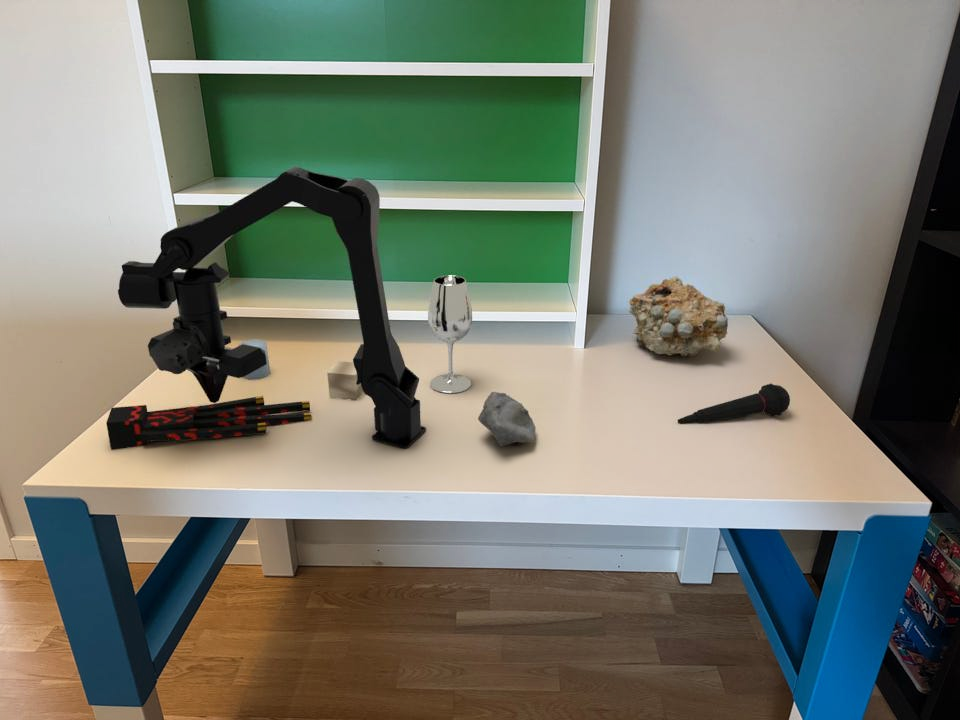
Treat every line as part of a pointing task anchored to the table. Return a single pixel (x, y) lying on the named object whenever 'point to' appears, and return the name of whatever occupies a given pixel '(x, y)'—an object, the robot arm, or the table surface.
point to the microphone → (745, 406)
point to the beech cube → (344, 381)
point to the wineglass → (450, 325)
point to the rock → (677, 319)
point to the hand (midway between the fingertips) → (214, 401)
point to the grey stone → (507, 419)
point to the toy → (199, 421)
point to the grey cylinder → (263, 370)
